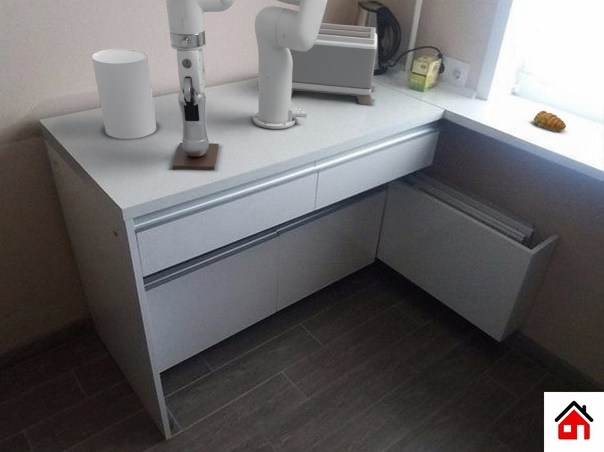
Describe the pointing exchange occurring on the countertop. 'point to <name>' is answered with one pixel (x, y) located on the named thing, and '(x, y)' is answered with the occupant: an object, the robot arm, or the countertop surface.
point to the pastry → (549, 121)
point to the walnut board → (196, 159)
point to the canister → (125, 92)
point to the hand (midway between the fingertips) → (195, 112)
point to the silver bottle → (194, 128)
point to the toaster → (337, 62)
